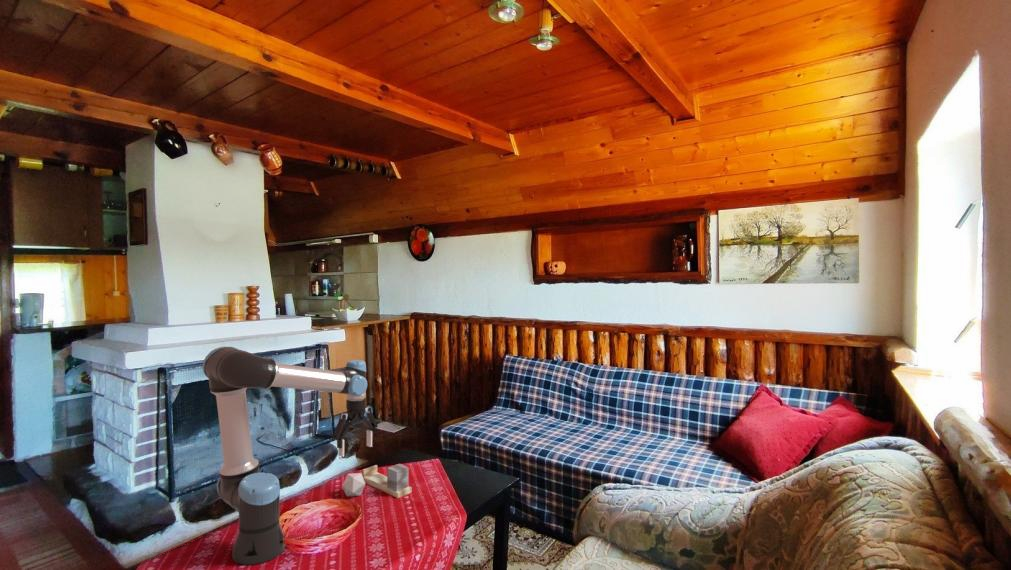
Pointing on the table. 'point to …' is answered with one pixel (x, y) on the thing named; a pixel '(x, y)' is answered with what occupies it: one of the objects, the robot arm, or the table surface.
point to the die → (353, 484)
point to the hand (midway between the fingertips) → (355, 450)
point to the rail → (389, 480)
